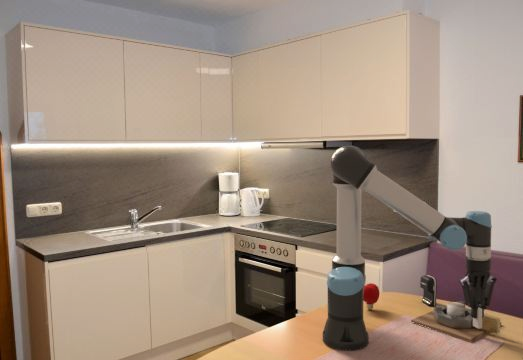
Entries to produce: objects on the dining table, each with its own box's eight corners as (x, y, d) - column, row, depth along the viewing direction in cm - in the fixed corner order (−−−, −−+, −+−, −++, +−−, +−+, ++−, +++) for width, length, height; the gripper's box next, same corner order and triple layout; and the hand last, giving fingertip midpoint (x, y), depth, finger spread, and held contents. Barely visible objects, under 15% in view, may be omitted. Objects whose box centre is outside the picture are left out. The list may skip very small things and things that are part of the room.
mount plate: (470, 342, 148) (470, 321, 147) (411, 322, 165) (411, 303, 165) (501, 325, 161) (501, 305, 161) (443, 308, 179) (444, 291, 178)
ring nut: (427, 319, 164) (427, 306, 164) (447, 310, 173) (448, 297, 173) (488, 339, 147) (488, 324, 147) (508, 327, 156) (508, 313, 155)
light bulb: (367, 304, 185) (367, 280, 184) (383, 308, 180) (383, 283, 179) (356, 311, 177) (356, 286, 177) (372, 315, 173) (372, 289, 172)
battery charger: (418, 301, 187) (419, 274, 186) (427, 300, 188) (427, 273, 187) (428, 307, 180) (428, 279, 180) (437, 306, 181) (437, 278, 180)
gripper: (468, 262, 146) (468, 333, 147) (503, 259, 149) (502, 329, 150) (453, 256, 153) (453, 324, 155) (487, 254, 156) (486, 320, 158)
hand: (477, 326), depth 152 cm, fingers closed
